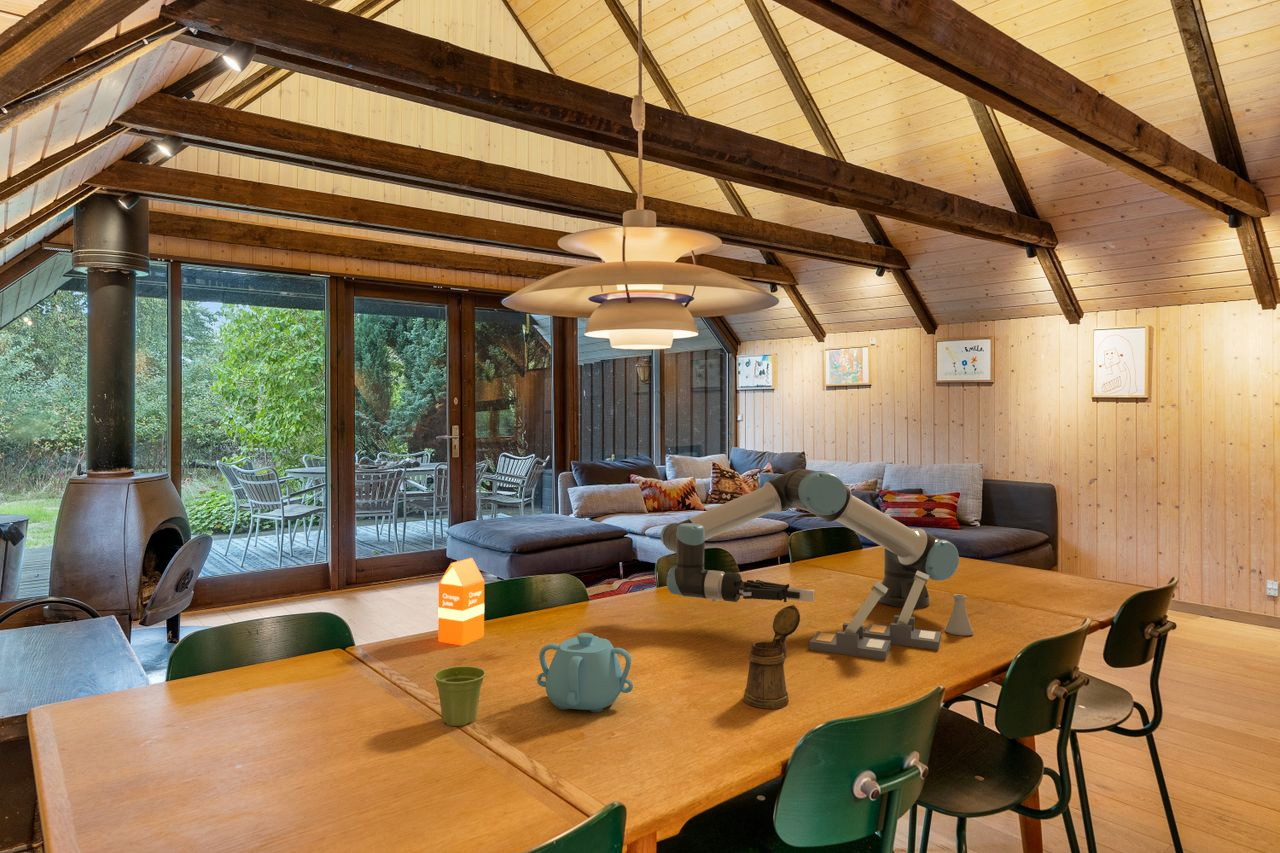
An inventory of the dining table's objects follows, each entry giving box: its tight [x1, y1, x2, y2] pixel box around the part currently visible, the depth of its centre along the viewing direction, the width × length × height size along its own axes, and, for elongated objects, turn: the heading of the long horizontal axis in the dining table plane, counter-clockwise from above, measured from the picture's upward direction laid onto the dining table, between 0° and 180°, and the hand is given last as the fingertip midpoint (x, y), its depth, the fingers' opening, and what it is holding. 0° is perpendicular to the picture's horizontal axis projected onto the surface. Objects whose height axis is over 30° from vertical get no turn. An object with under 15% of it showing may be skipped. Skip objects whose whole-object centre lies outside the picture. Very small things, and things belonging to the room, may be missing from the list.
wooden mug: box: [743, 604, 801, 710], centre depth 155 cm, size 9×14×18 cm, turn 132°
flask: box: [944, 593, 974, 636], centre depth 204 cm, size 7×7×10 cm
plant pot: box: [433, 665, 487, 727], centre depth 142 cm, size 9×9×9 cm
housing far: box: [864, 614, 942, 651], centre depth 197 cm, size 18×10×5 cm, turn 65°
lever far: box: [897, 570, 930, 625], centre depth 196 cm, size 3×6×15 cm, turn 155°
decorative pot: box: [536, 632, 634, 713], centre depth 151 cm, size 16×16×14 cm
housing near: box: [809, 622, 892, 661], centre depth 189 cm, size 18×10×5 cm, turn 65°
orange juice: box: [437, 557, 485, 647], centre depth 193 cm, size 8×9×20 cm
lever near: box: [844, 580, 888, 633], centre depth 187 cm, size 3×6×15 cm
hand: (813, 596), depth 192 cm, fingers closed
